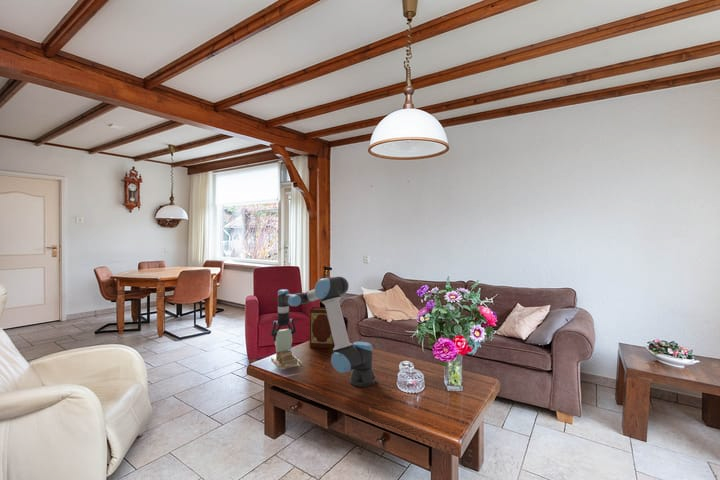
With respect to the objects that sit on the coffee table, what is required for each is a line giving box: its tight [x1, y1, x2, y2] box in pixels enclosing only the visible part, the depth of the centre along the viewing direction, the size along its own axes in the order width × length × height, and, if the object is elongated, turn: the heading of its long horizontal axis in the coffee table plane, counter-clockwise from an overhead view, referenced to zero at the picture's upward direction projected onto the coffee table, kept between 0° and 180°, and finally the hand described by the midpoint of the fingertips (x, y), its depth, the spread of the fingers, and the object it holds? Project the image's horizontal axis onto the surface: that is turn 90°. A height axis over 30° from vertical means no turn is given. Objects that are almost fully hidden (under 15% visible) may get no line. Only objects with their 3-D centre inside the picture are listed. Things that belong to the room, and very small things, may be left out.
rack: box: [270, 350, 303, 370], centre depth 229 cm, size 20×15×7 cm
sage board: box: [275, 328, 292, 352], centre depth 234 cm, size 3×10×14 cm, turn 121°
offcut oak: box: [280, 350, 293, 358], centre depth 229 cm, size 4×7×3 cm
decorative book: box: [309, 306, 335, 349], centre depth 265 cm, size 22×8×30 cm, turn 84°
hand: (283, 344), depth 234 cm, fingers closed on sage board, 10 cm apart
